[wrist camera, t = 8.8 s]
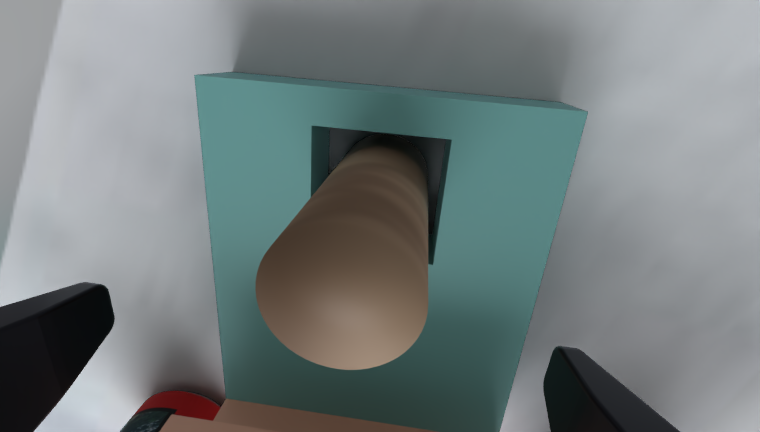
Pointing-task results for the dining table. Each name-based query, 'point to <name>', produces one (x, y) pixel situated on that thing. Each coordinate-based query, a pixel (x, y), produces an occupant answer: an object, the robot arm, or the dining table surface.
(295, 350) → the walnut peg
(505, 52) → the dining table surface
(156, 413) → the beverage can
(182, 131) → the dining table surface
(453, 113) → the socket plate
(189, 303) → the dining table surface
